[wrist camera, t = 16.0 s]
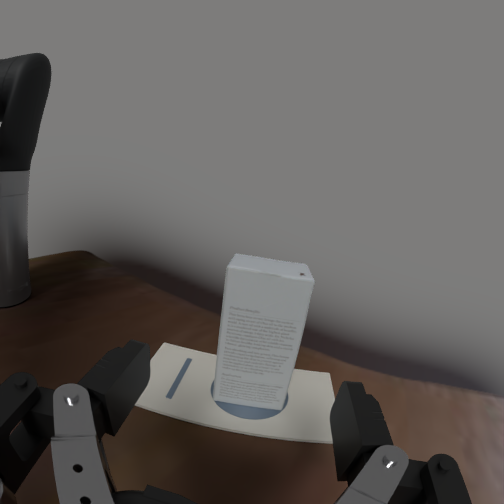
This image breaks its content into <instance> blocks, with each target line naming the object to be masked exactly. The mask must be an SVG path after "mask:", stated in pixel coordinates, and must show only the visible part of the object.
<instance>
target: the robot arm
mask: <svg viewBox="0 0 504 504" xmlns="http://www.w3.org/2000/svg"><path fill="white" fill-rule="evenodd" d="M50 82H51V65H50V62H49V59H48V58H47V57H46V56H45V55H44V54H41V53H33V54H27V55H21V56H17V57H12V58H8V59H1V60H0V122H2V124H1V127H0V307H7V306H12V305H16V304H18V303H21V302H23V301H24V300H26V299H27V298H28V297H29V296H30V294H31V284H30V273H29V259H28V239H27V237H28V236H27V210H28V187H29V174H30V171H29V170H30V164H31V159H32V156H33V153H34V150H35V147H36V143H37V138H38V133H39V128H40V123H41V119H42V115H43V111H44V108H45V104H46V100H47V97H48V92H49V88H50ZM149 380H150V347H149V345H148V344H146V343H142V342H139V341H136V340H130V341H129V342H128V343H127V344H126V345H125V346H124V347H123V348H120V347H117V348H115V349H113V350H110V351H108V352H107V353H106V354H105V355H104V356H103V357H102V359H101V360H99V361H98V363H97V364H96V365H95V366H94V367H93V368H92V369H91V370H90V371H89V372H88V373H87V374H86V375H85V376H84V377H83V378H82V379H81V380H80V381H79V382H78V383H77V384H64V385H61V386H60V387H58V388H57V389H56V390H52V389H48V388H44V387H39V386H38V384H37V381H36V379H35V378H34V376H32V375H31V374H29V373H25V372H19V373H15V374H13V375H11V376H10V377H9V378H8V379H6V380H5V381H4V382H3V383H2V384H1V385H0V504H17V500H16V497H15V493H16V491H17V490H18V488H19V487H20V485H21V484H22V482H23V481H24V479H25V478H26V476H27V475H28V473H29V472H30V470H31V469H32V467H33V466H34V464H35V463H36V461H37V460H38V459H39V457H40V456H41V454H42V453H43V451H44V450H45V449H46V447H47V446H48V444H49V443H50V441H51V449H52V459H53V467H54V474H55V480H56V486H57V492H58V497H59V502H60V504H197V503H195V502H193V501H191V500H189V499H187V498H185V497H183V496H181V495H179V494H175V493H172V492H169V491H165V490H162V489H159V488H156V487H153V486H150V485H147V486H146V489H145V491H136V490H128V491H118V492H117V489H116V486H115V484H114V481H113V478H112V475H111V472H110V469H109V465H108V462H107V458H106V454H105V451H104V447H103V443H102V439H101V438H102V437H103V435H104V434H105V433H107V434H110V435H112V436H115V435H116V433H117V432H118V430H119V429H120V427H121V425H122V424H123V422H124V421H125V419H126V418H127V416H128V415H129V413H130V411H131V410H132V408H133V407H134V405H135V404H136V402H137V401H138V399H139V398H140V396H141V395H142V393H143V391H144V390H145V388H146V387H147V385H148V383H149ZM20 420H21V421H22V422H21V423H20V424H19V425H18V426H17V428H16V429H15V430H14V431H13V432H12V434H11V435H10V433H11V431H12V430H13V428H14V427H15V426H16V425H17V424H18V423H19V421H20ZM330 427H331V434H332V441H333V448H334V456H335V464H336V472H337V480H338V481H347V482H348V487H347V488H346V489H345V491H344V492H343V493H342V494H341V496H340V497H339V498H338V499H337V500H336V502H335V503H334V504H472V503H471V500H470V497H469V494H468V491H467V488H466V485H465V483H464V480H463V477H462V475H461V472H460V469H459V467H458V464H457V462H456V461H455V460H454V459H453V458H452V457H451V456H449V455H446V454H436V455H434V456H432V457H431V458H430V460H429V461H428V462H423V461H416V460H411V459H408V456H407V454H406V453H405V452H404V451H403V450H402V449H401V448H399V447H396V446H394V445H393V442H392V439H391V436H390V433H389V430H388V427H387V425H386V422H385V420H384V416H383V413H382V411H381V408H380V405H379V402H378V401H377V400H376V399H375V398H374V397H373V396H372V395H370V394H366V392H365V389H364V386H363V384H362V383H361V382H349V381H344V382H343V383H342V385H341V387H340V389H339V392H338V394H337V396H336V399H335V401H334V403H333V406H332V408H331V412H330Z"/></svg>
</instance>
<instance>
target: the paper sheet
mask: <svg viewBox="0 0 504 504" xmlns="http://www.w3.org/2000/svg"><path fill="white" fill-rule="evenodd" d="M216 359H217V355H214V354H209V353H204V352H200V351H196V350H192V349H187V348H183V347H179V346H175V345H172V344H168V343H163V345H162V346H161V347H160V349H159V350H158V351H157V353H156V354H155V355H154V357H153V358H152V359H151V361H150V380H149V383H148V385H147V387H146V388H145V390H144V391H143V393H142V395H141V396H140V398H139V399H138V401H137V402H136V404H135V406H138V407H141V408H144V409H147V410H150V411H153V412H156V413H159V414H162V415H166V416H169V417H172V418H176V419H179V420H183V421H187V422H191V423H194V424H198V425H203V426H207V427H211V428H216V429H220V430H225V431H230V432H235V433H240V434H246V435H252V436H258V437H265V438H273V439H281V440H289V441H300V442H312V443H331V444H333V441H332V434H331V427H330V412H331V408H332V406H333V403H334V401H335V398H334V393H333V388H332V383H331V378H330V373H324V372H315V371H307V370H299V369H294V370H293V373H292V377H291V381H290V384H289V388H288V391H287V395H286V399H285V402H284V405H283V408H282V410H274V409H266V408H258V407H251V406H244V405H238V404H232V403H226V402H220V401H214V400H213V389H214V379H215V368H216Z"/></svg>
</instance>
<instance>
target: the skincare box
mask: <svg viewBox="0 0 504 504" xmlns="http://www.w3.org/2000/svg"><path fill="white" fill-rule="evenodd" d="M314 283H315V281H314V279H313V277H312V274H311V272H310V270H309V268H308V266H307V264H302V263H294V262H287V261H280V260H274V259H269V258H262V257H256V256H249V255H243V254H235V255H234V257H233V258H232V260H231V261H230V263H229V264H228V266H227V267H226V276H225V285H224V295H223V304H222V314H221V322H220V331H219V341H218V350H217V359H216V368H215V379H214V389H213V400H214V401H220V402H226V403H232V404H238V405H244V406H251V407H258V408H266V409H274V410H282V408H283V405H284V402H285V399H286V395H287V391H288V388H289V384H290V381H291V377H292V373H293V370H294V366H295V362H296V359H297V355H298V351H299V347H300V343H301V339H302V335H303V331H304V326H305V322H306V318H307V313H308V309H309V304H310V300H311V295H312V291H313V287H314Z"/></svg>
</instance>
